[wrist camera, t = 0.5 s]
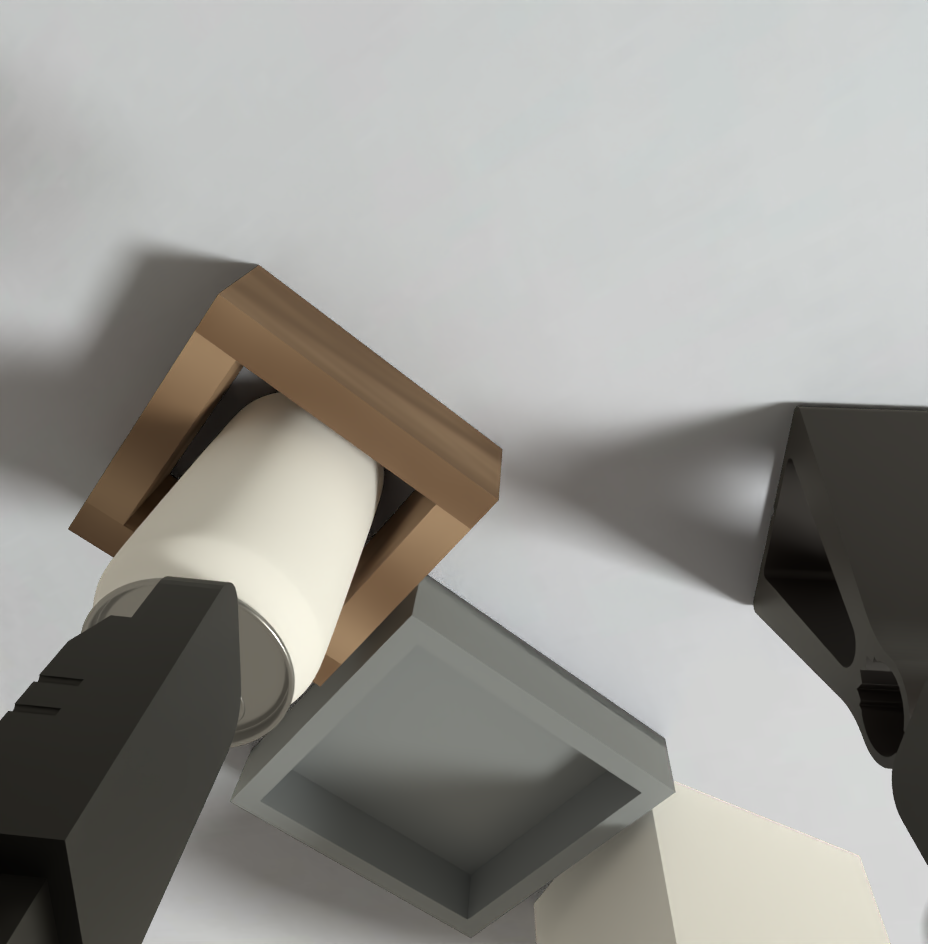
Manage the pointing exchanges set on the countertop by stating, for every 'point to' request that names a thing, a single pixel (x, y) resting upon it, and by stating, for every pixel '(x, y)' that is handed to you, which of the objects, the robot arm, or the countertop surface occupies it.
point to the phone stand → (854, 561)
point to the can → (260, 545)
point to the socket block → (337, 406)
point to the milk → (710, 884)
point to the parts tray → (454, 764)
